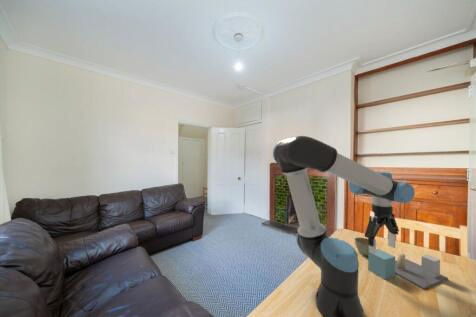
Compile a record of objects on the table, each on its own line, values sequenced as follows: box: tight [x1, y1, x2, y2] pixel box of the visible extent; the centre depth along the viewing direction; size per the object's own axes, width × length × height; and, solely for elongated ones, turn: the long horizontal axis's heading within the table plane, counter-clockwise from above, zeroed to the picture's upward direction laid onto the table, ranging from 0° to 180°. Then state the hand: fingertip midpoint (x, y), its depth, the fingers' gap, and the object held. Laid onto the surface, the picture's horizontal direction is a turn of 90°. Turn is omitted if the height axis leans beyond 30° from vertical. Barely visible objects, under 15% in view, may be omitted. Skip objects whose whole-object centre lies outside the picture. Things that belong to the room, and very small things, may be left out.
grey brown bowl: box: [354, 237, 369, 257], centre depth 101 cm, size 10×10×7 cm
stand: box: [395, 252, 449, 290], centre depth 84 cm, size 18×16×8 cm
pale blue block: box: [367, 248, 396, 281], centre depth 84 cm, size 7×7×9 cm
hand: (382, 249), depth 84 cm, fingers open, 13 cm apart
